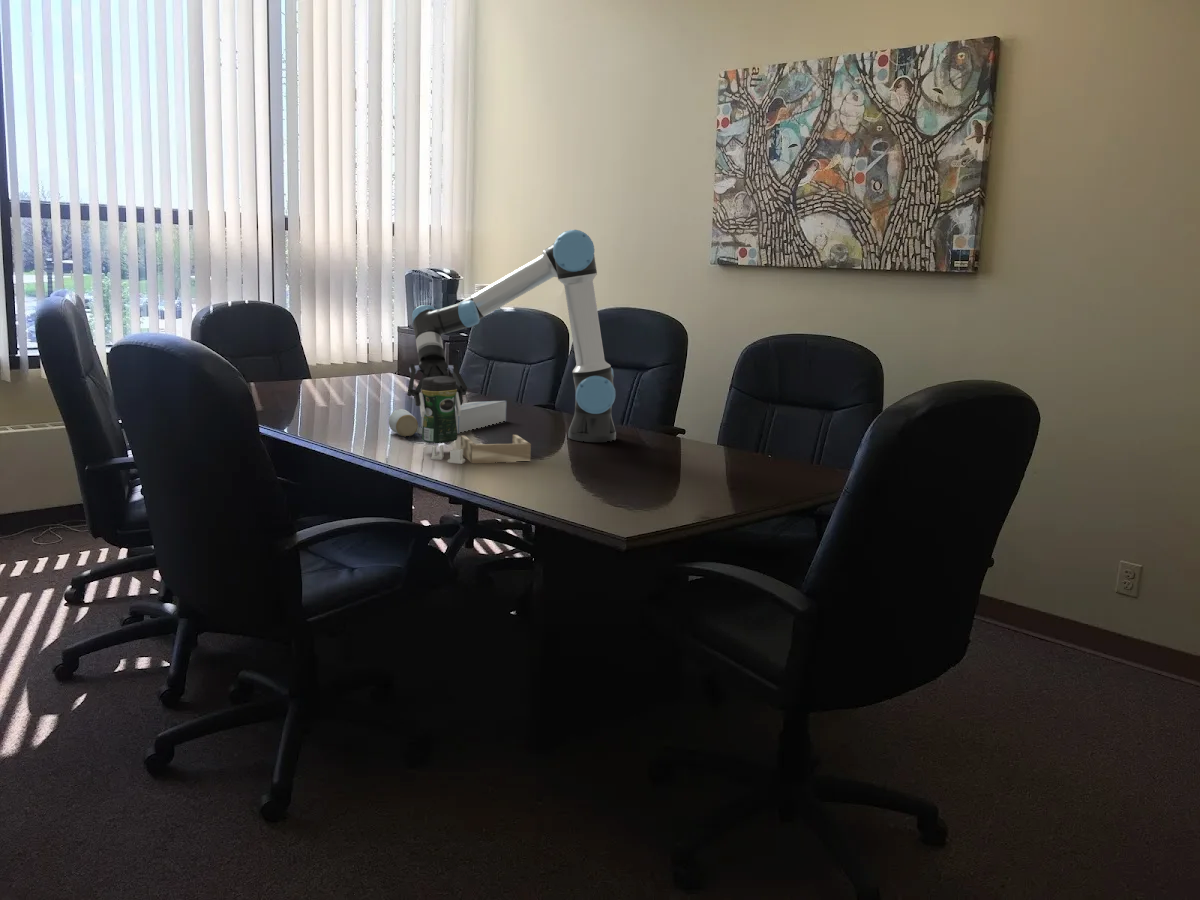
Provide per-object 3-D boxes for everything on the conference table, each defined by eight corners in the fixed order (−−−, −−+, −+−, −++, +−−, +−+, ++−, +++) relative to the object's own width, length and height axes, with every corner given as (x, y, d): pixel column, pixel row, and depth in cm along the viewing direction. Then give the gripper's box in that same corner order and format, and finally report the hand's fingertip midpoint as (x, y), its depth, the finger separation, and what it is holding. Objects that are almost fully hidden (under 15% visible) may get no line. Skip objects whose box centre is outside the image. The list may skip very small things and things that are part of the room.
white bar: (470, 418, 338) (470, 396, 336) (506, 422, 332) (506, 400, 331) (420, 429, 311) (420, 406, 309) (458, 434, 305) (458, 411, 304)
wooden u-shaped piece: (460, 452, 275) (460, 435, 274) (516, 451, 281) (516, 434, 280) (472, 463, 261) (472, 445, 260) (530, 461, 267) (530, 444, 266)
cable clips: (437, 455, 269) (437, 443, 269) (470, 462, 263) (470, 449, 262) (425, 458, 265) (425, 446, 265) (458, 464, 259) (458, 452, 258)
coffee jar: (445, 437, 280) (445, 373, 276) (461, 441, 274) (461, 376, 271) (417, 441, 273) (416, 375, 269) (433, 445, 268) (433, 378, 264)
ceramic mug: (396, 438, 292) (396, 413, 291) (388, 433, 299) (388, 409, 298) (429, 437, 297) (430, 412, 296) (420, 432, 304) (421, 408, 303)
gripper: (466, 359, 287) (478, 420, 276) (390, 360, 280) (400, 422, 268) (470, 343, 282) (482, 404, 270) (393, 343, 274) (402, 406, 262)
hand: (441, 413), depth 269 cm, fingers closed on coffee jar, 9 cm apart
